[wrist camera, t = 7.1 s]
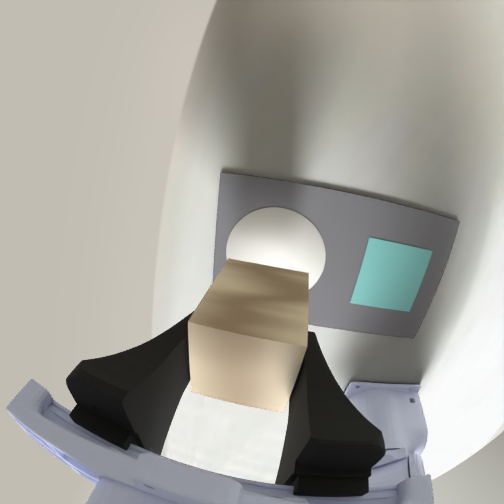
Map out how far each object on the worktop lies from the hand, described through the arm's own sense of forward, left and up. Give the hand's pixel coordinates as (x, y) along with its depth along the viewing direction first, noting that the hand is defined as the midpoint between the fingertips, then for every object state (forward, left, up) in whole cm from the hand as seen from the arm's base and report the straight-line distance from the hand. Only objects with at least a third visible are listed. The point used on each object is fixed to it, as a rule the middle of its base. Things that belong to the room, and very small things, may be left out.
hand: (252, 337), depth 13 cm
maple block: (0, 0, -3) cm, 3 cm away
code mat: (-5, 0, -10) cm, 12 cm away
